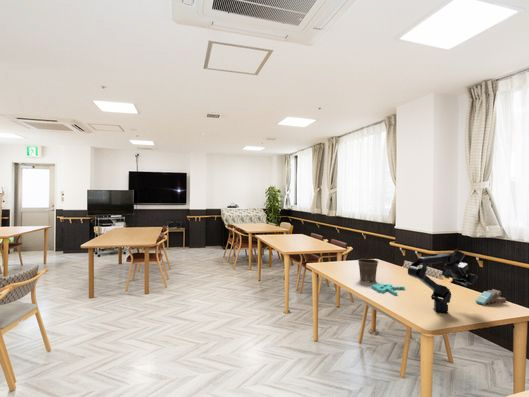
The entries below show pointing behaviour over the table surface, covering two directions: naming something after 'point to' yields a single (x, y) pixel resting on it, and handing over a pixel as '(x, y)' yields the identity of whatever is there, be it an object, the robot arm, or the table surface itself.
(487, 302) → the walnut domino
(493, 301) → the walnut domino
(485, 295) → the teal domino
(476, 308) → the table surface
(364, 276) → the plant pot
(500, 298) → the walnut domino
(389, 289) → the alien figure
